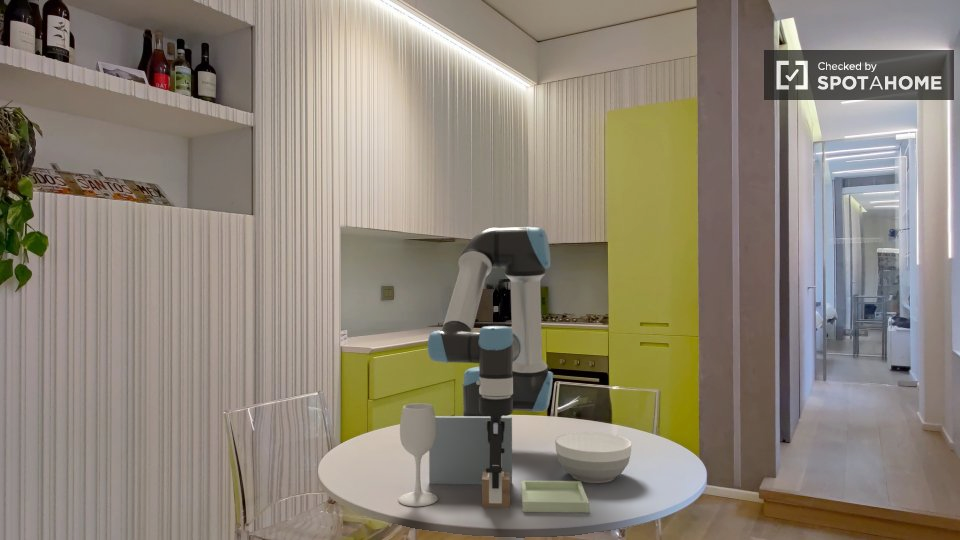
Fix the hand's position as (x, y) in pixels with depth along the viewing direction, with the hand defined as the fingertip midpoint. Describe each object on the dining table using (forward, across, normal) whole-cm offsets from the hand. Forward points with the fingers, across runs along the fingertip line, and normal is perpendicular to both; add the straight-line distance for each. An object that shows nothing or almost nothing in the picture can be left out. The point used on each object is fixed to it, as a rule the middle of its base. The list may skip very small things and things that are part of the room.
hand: (495, 492), depth 138 cm
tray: (+2, -2, +13) cm, 13 cm away
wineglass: (+2, -1, -17) cm, 18 cm away
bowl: (+2, -19, +24) cm, 31 cm away
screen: (+2, -13, -6) cm, 14 cm away
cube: (+2, 0, 0) cm, 2 cm away
